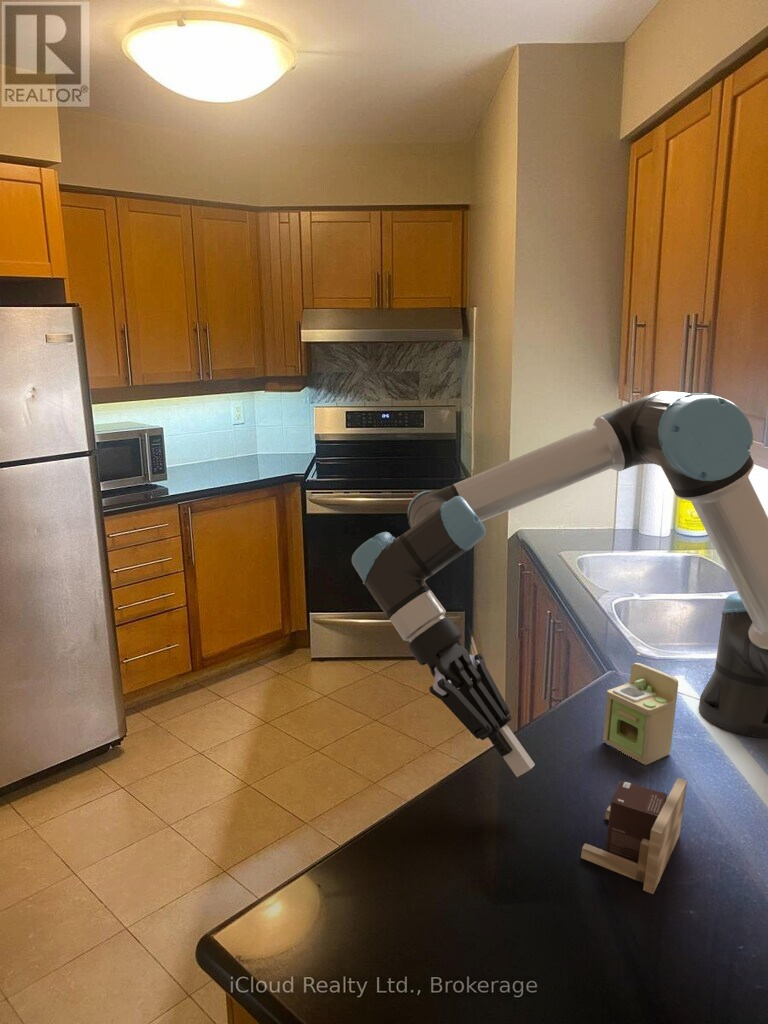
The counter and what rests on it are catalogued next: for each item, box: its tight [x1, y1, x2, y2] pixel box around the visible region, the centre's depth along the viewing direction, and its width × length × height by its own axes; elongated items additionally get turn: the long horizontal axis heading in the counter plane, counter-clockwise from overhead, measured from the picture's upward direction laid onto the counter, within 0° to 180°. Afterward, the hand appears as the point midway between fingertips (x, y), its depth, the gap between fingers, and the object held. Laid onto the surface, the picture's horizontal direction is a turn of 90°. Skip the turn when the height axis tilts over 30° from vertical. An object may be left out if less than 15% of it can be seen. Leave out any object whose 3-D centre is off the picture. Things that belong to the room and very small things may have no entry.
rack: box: [580, 777, 688, 895], centre depth 95 cm, size 14×9×8 cm, turn 147°
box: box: [604, 780, 668, 864], centre depth 96 cm, size 6×6×7 cm
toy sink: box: [602, 662, 679, 766], centre depth 121 cm, size 9×7×13 cm
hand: (525, 770), depth 103 cm, fingers closed
